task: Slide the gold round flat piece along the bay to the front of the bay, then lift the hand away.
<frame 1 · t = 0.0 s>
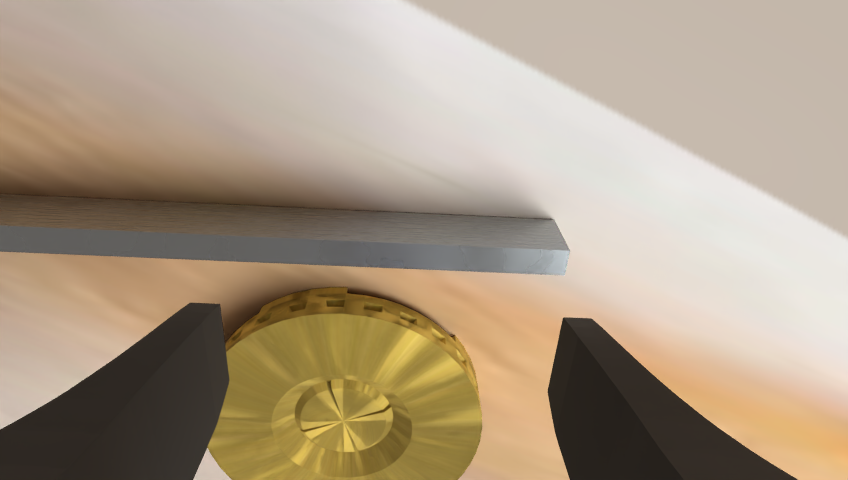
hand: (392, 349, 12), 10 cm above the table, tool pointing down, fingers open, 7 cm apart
gold round flat piece: (347, 390, 27), on the table
bay: (213, 394, 26), on the table
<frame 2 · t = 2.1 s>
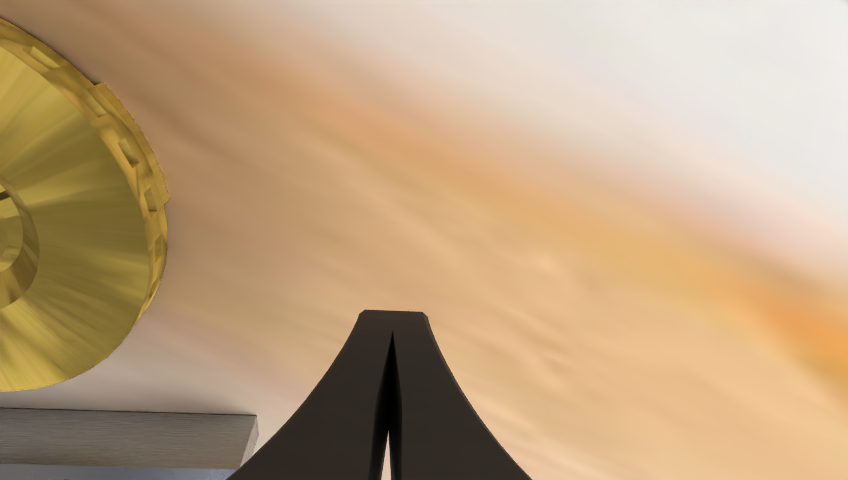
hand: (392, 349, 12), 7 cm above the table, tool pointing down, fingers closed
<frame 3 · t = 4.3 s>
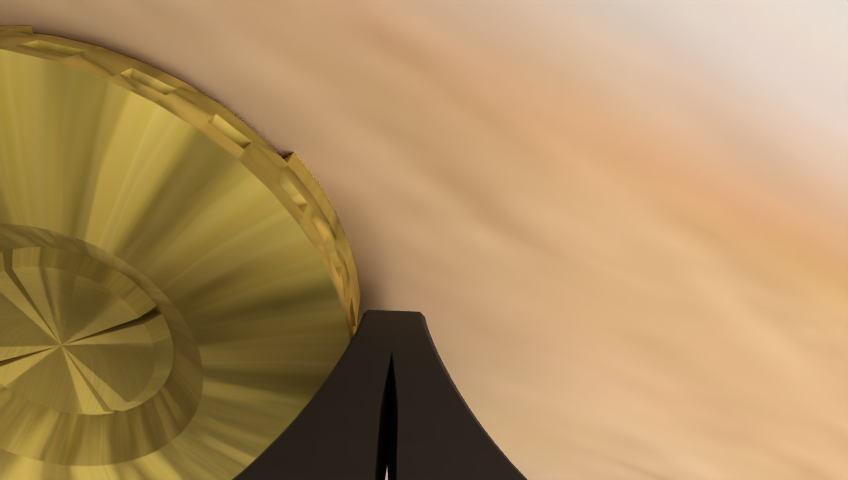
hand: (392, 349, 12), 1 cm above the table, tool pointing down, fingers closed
gold round flat piece: (106, 294, 13), on the table, touching gripper
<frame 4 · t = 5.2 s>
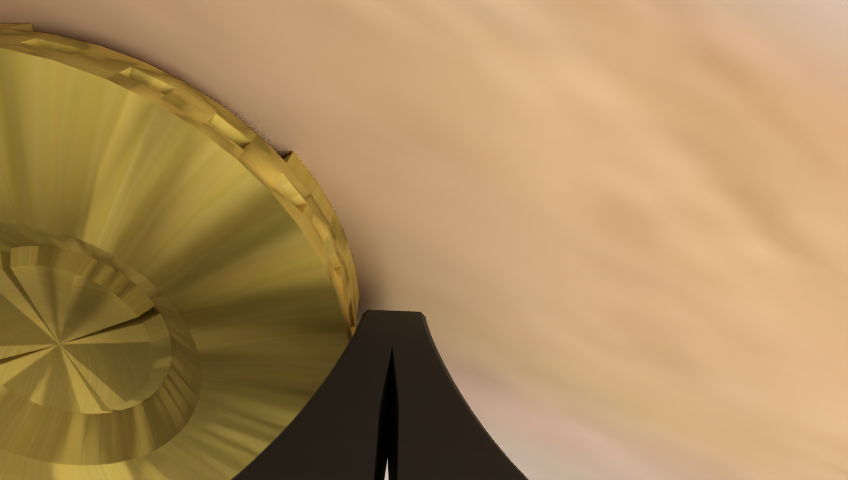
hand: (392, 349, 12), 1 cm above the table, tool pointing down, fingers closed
gold round flat piece: (104, 293, 13), on the table, touching gripper
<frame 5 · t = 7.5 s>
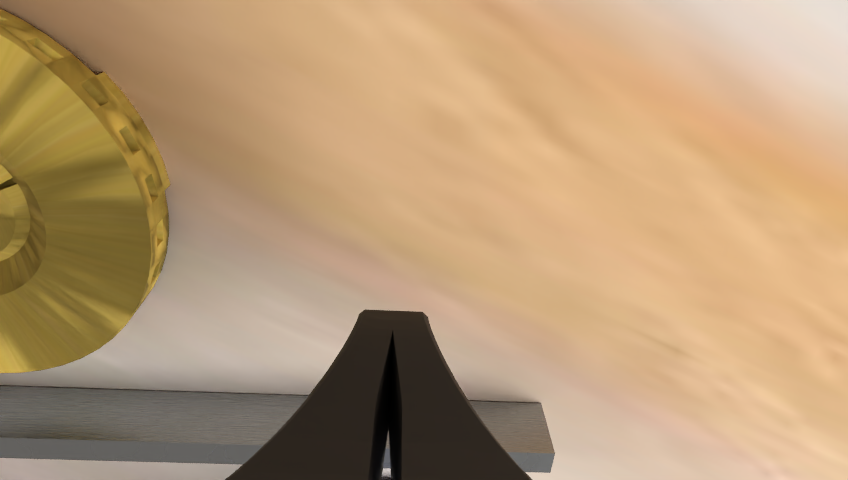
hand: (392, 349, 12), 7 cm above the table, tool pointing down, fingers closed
bay: (148, 190, 18), on the table
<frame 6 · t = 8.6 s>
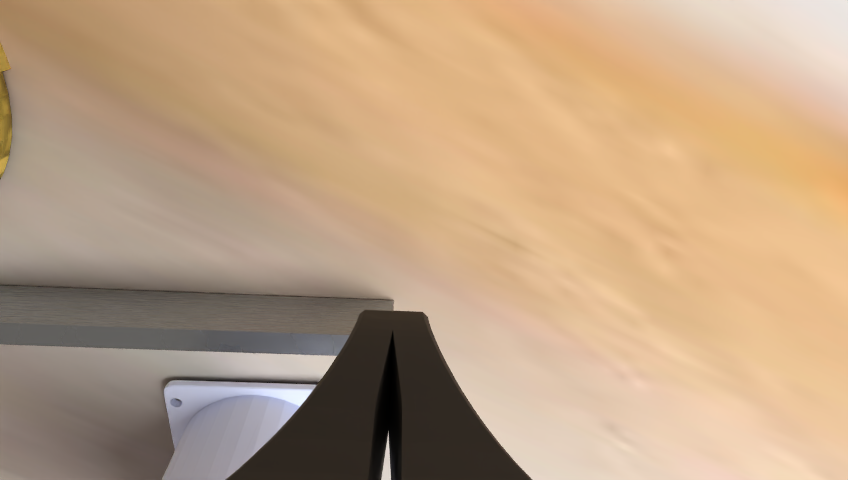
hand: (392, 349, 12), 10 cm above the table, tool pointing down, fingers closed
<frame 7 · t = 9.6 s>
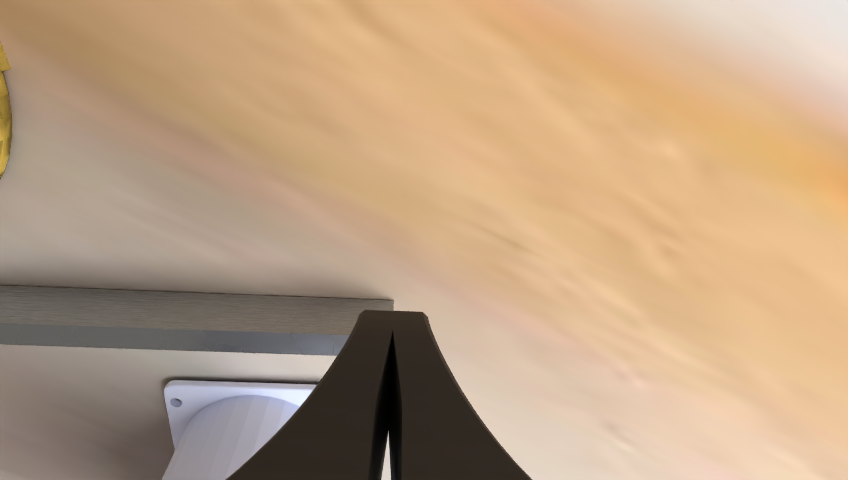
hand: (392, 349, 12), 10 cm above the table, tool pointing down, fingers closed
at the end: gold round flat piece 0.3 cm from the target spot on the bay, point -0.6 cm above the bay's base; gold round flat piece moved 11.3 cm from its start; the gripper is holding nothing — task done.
